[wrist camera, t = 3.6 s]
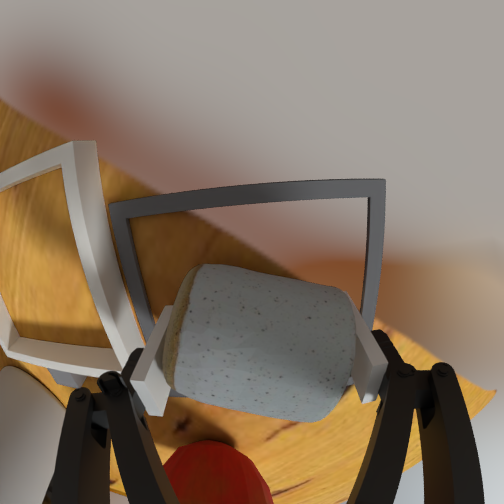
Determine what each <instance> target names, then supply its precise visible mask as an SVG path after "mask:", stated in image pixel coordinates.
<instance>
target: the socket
mask: <svg viewBox="0 0 504 504" xmlns="http://www.w3.org/2000/svg"><path fill="white" fill-rule="evenodd" d="M59 168H62V173H63V180H64V187H65V193H66V199H67V204H68V209H69V214H70V219H71V224H72V228H73V232H74V237H75V241H76V245H77V248H78V252H79V256H80V259H81V263H82V266H83V270H84V273H85V276H86V279H87V282H88V285H89V288H90V291H91V294H92V297H93V300H94V303H95V305H96V308H97V311H98V313H99V316H100V319H101V321H102V324H103V326H104V329H105V331H106V333H107V336H108V338H109V340H110V343H111V345H112V347H113V349H111V348H98V347H88V346H78V345H70V344H62V343H55V342H48V341H41V340H35V339H30V338H24V337H20V336H19V334H18V332H17V330H16V328H15V326H14V324H13V322H12V319H11V317H10V315H9V313H8V311H7V308H6V306H5V303H4V301H3V299H2V296H1V294H0V345H1V346H2V348H3V350H4V352H5V354H6V355H7V357H10V358H13V359H16V360H20V361H23V362H27V363H30V364H34V365H38V366H42V367H46V368H47V369H48V370H49V372H50V374H51V375H52V377H53V378H54V380H55V381H56V383H57V384H60V385H64V386H69V387H73V388H81V386H82V385H83V383H84V381H85V379H86V378H87V376H92V377H98V378H99V376H100V375H102V374H103V373H105V372H107V371H117V372H118V373H120V374H121V372H122V370H123V368H124V366H125V364H126V362H127V361H128V358H129V356H130V354H131V353H132V352H133V351H134V350H135V349H136V348H145V346H144V343H143V340H142V338H141V335H140V332H139V330H138V327H137V324H136V321H135V318H134V315H133V312H132V309H131V306H130V303H129V300H128V297H127V293H126V290H125V287H124V283H123V280H122V276H121V273H120V269H119V265H118V262H117V258H116V254H115V250H114V246H113V241H112V237H111V233H110V228H109V223H108V218H107V213H106V208H105V203H104V197H103V191H102V185H101V178H100V171H99V163H98V154H97V145H96V141H94V140H91V141H90V140H82V141H71V142H68V143H65V144H63V145H60V146H58V147H55V148H53V149H50V150H48V151H45V152H43V153H41V154H38V155H36V156H34V157H32V158H30V159H27V160H25V161H23V162H21V163H19V164H17V165H15V166H13V167H11V168H9V169H7V170H5V171H3V172H2V173H0V192H1V191H4V190H6V189H8V188H10V187H13V186H15V185H17V184H20V183H22V182H24V181H27V180H29V179H32V178H34V177H37V176H39V175H42V174H45V173H48V172H50V171H53V170H56V169H59Z"/></svg>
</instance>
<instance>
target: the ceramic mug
mask: <svg viewBox="0 0 504 504" xmlns="http://www.w3.org/2000/svg"><path fill="white" fill-rule="evenodd" d="M355 346H356V323H355V316H354V313H353V309H352V305H351V302H350V300H349V298H348V296H347V295H346V294H345V293H344V292H343V291H342V290H340V289H338V288H336V287H332V286H325V285H320V284H315V283H310V282H306V281H302V280H297V279H291V278H286V277H281V276H276V275H271V274H265V273H260V272H256V271H252V270H248V269H244V268H240V267H235V266H229V265H223V264H199V265H197V266H196V267H194V268H192V269H191V270H190V271H189V272H188V273H187V275H186V277H185V278H184V280H183V282H182V284H181V287H180V289H179V291H178V294H177V297H176V300H175V302H174V305H173V309H172V312H171V316H170V320H169V324H168V328H167V332H166V337H165V343H164V351H163V360H162V363H163V374H164V378H165V380H166V383H167V384H168V385H169V386H170V387H171V388H172V389H173V390H175V391H177V392H179V393H181V394H183V395H185V396H187V397H189V398H191V399H194V400H197V401H199V402H202V403H206V404H210V405H215V406H219V407H224V408H228V409H233V410H238V411H243V412H248V413H252V414H257V415H262V416H267V417H273V418H279V419H285V420H292V421H299V422H316V421H320V420H322V419H323V418H325V417H326V416H327V415H328V414H329V413H330V412H331V411H332V410H333V409H334V407H335V406H336V405H337V403H338V401H339V399H340V398H341V396H342V394H343V392H344V390H345V387H346V385H347V383H348V380H349V377H350V374H351V371H352V368H353V363H354V358H355Z"/></svg>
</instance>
